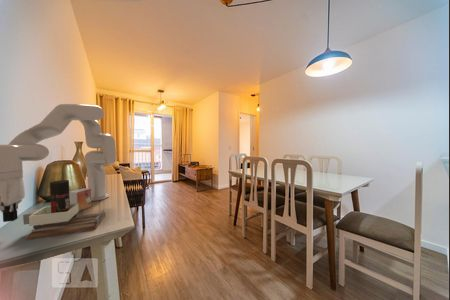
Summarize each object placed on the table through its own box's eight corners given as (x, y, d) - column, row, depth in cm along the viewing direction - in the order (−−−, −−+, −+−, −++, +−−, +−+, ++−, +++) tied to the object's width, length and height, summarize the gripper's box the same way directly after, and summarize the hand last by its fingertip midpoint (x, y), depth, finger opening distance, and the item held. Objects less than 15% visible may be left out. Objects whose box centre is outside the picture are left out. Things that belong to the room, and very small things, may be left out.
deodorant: (56, 213, 75) (54, 180, 74) (72, 211, 77) (71, 179, 76) (48, 219, 70) (46, 183, 69) (66, 217, 72) (64, 182, 71)
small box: (77, 212, 89) (76, 192, 89) (69, 210, 90) (68, 191, 90) (92, 206, 97) (91, 188, 96) (84, 205, 98) (83, 187, 98)
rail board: (48, 222, 77) (48, 215, 77) (105, 215, 85) (104, 208, 85) (26, 239, 64) (25, 231, 64) (95, 229, 72) (95, 221, 72)
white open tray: (36, 221, 74) (35, 207, 74) (78, 215, 80) (78, 203, 79) (19, 232, 65) (18, 217, 64) (68, 225, 70) (67, 211, 70)
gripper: (10, 172, 72) (12, 214, 73) (-26, 180, 58) (-22, 231, 59) (33, 171, 75) (35, 211, 76) (5, 178, 61) (8, 227, 62)
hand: (10, 220), depth 67 cm, fingers closed
